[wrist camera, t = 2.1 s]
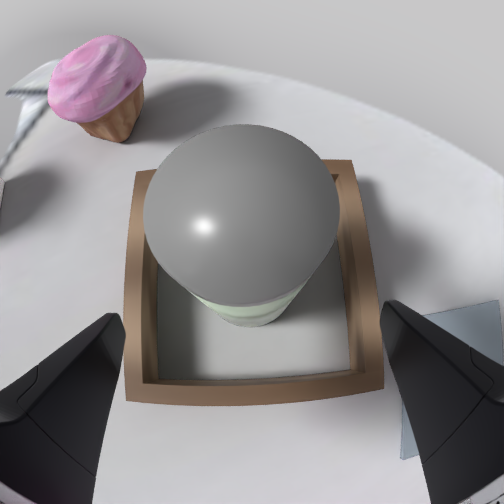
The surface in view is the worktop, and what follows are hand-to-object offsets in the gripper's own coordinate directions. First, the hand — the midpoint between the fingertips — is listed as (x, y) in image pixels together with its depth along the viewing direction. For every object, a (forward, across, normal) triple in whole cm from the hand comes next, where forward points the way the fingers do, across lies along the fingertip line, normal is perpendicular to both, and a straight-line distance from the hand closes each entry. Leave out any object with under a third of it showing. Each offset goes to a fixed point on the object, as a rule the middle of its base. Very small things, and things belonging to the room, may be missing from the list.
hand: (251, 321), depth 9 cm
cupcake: (+21, +12, -6) cm, 25 cm away
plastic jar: (+10, 0, +5) cm, 11 cm away
